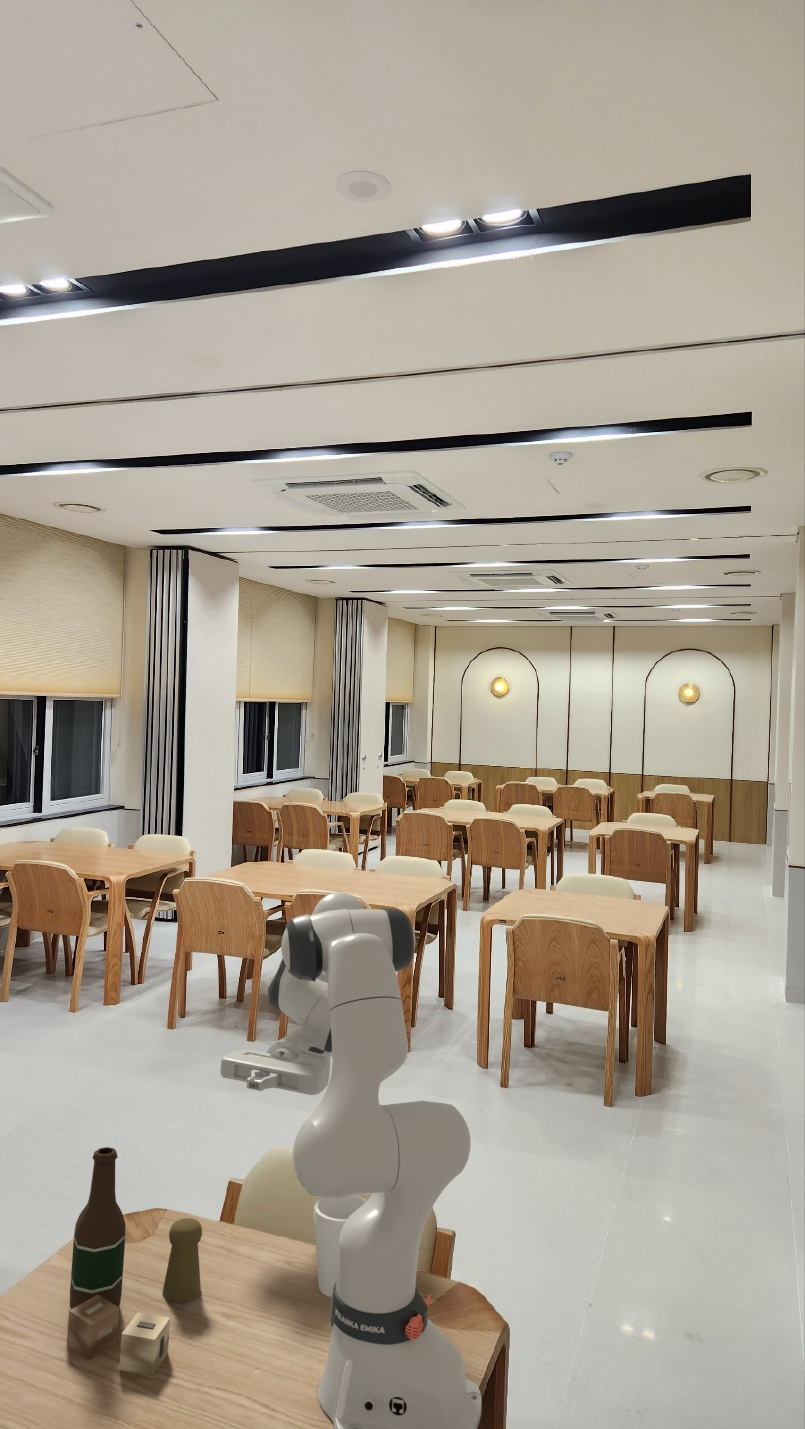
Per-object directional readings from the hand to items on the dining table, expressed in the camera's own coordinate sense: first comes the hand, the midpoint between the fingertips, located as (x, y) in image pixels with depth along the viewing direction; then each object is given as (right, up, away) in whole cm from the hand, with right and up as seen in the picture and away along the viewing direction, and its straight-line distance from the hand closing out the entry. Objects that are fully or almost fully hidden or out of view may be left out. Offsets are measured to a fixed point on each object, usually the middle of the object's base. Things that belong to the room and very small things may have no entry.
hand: (253, 1085), depth 161 cm
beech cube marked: (-10, -26, -32) cm, 43 cm away
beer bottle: (-21, -26, -21) cm, 40 cm away
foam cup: (+16, -29, -12) cm, 35 cm away
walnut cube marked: (-19, -26, -29) cm, 43 cm away
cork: (-9, -27, -15) cm, 33 cm away
